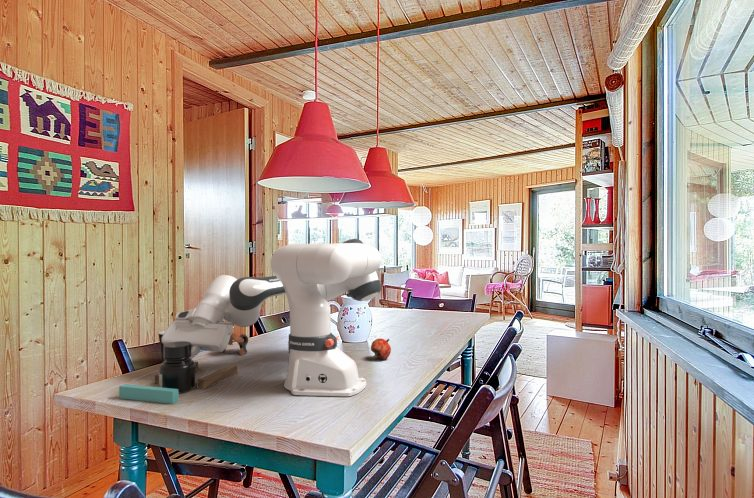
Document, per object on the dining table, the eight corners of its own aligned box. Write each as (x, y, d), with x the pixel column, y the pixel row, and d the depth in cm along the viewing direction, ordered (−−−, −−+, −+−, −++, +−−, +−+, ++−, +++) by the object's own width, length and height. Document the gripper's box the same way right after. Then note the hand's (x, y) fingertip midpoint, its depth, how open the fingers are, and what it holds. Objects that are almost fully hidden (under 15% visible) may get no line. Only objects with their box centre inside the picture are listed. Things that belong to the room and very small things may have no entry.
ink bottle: (173, 381, 126) (173, 339, 126) (202, 383, 125) (202, 340, 124) (150, 393, 117) (150, 347, 116) (181, 396, 115) (181, 349, 115)
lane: (237, 373, 136) (237, 364, 136) (204, 389, 121) (204, 379, 121) (192, 369, 141) (192, 361, 141) (154, 384, 125) (154, 375, 125)
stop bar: (178, 401, 111) (178, 389, 111) (172, 404, 109) (172, 391, 109) (125, 395, 116) (125, 383, 116) (119, 398, 114) (119, 386, 114)
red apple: (380, 369, 149) (401, 348, 152) (366, 352, 148) (388, 332, 151) (372, 366, 156) (392, 346, 159) (359, 350, 155) (379, 330, 158)
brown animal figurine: (237, 359, 155) (225, 338, 155) (221, 368, 160) (208, 348, 159) (259, 343, 166) (247, 324, 166) (242, 352, 170) (231, 333, 170)
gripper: (240, 328, 134) (220, 370, 125) (182, 325, 140) (159, 364, 130) (231, 315, 130) (210, 357, 120) (172, 312, 135) (147, 352, 126)
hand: (183, 361), depth 125 cm, fingers closed, pressing on ink bottle
